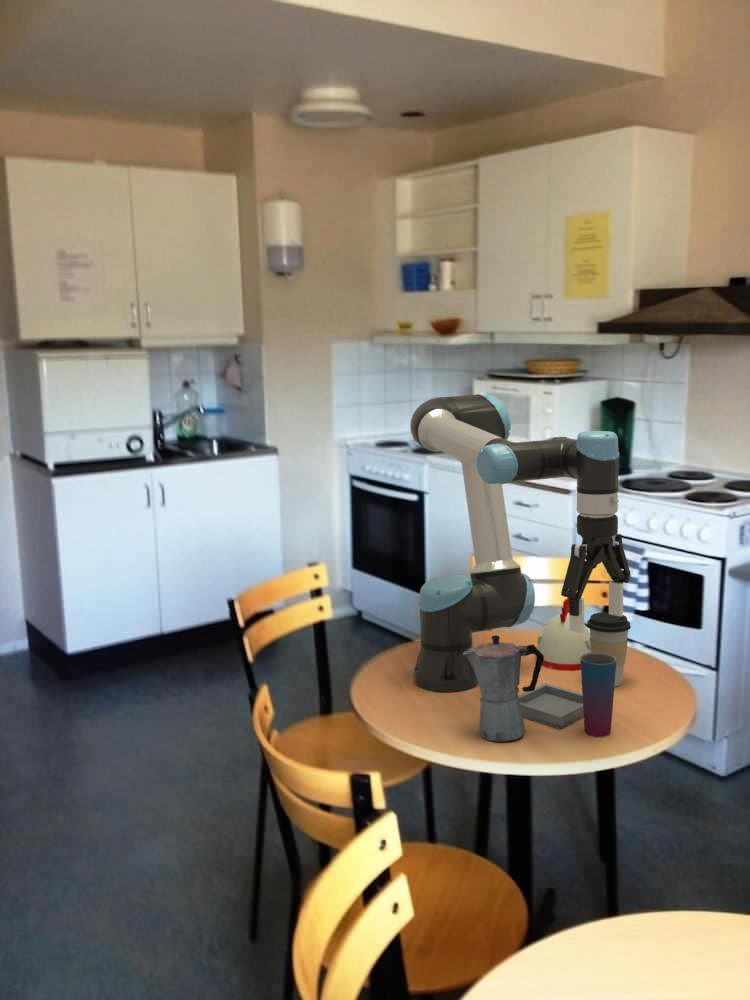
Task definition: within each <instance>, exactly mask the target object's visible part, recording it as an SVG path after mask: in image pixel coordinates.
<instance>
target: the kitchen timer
mask: <svg viewBox="0 0 750 1000" xmlns="http://www.w3.org/2000/svg"><path fill="white" fill-rule="evenodd" d="M562 604H563V605H562V606H561V612H560V613H558V614H556V615H554V616H553V617H552V618H551V619H550V620H549V621H548V622H547V623H546V625H545V626H544V627H542V629H541V630H540V633H538V638H537V645H536V648H537V650H539V651H540V653H542V654H543V656H544V661H543V663H542V666H541V667H544V668H547V669H551V670H556V671H562V672H563V671H565V672H566V671H567V672H574V671H581V661H580V657H581V656H582V655H584V654H586V653H591V644H590V629H589V628H588V627H587V625H586V624H585V623H584V633H578V632H573V631H569V598H568V597H566V598H565V599H564V600H563V602H562ZM535 656H536V655H535ZM535 658H536V659H535V661H536V660H537V656H536V657H535Z"/></svg>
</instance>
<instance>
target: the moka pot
mask: <svg viewBox="0 0 750 1000" xmlns="http://www.w3.org/2000/svg"><path fill="white" fill-rule="evenodd" d="M491 640H492V642H488V643H482V644H478V645H476V646H475V647H473V648H471V649H468V650H467V651H465V652H464V653H463V655H465V656H466V657H467V659H468V661H469V662H470V664H471V666H472V668H473V670H474V672H475V674H476V678H477V683H478V685H477V687H478V688H479V689H480V696H481V697H480V699H479V702H480V713H479V726H478V727H479V728H478V730H479V731H478V733H479V735H480V736H481V737H482V738H483V739H484V740H487V741H492V742H499V743H500V742H501V743H502V742H510V741H514V740H517V739H520V738H522V737H523V736H524V734H525V732H526V727H525V721H524V717H523V716H522V712H521V706H520V702H519V697H518V696H519V694H518V693H519V691H520V687H519V685H520V681H521V679H520V677H521V661H522V657H527V656H530V655H535V656H537V660H536V659H535V664H534V667H533V668H534V669H533V672H532V679H531V681H530V684H529V686H523V687H522V688H521V690H522V693H525V692H527V691H534V690H535V688H536V687H537V683H538V679H539V676H540V672H541V669H542V667H543V666H542V663H543V661H544V656H543V654H542V653H540V651H539V650H537V646H535V644H529V645H516V644H515V643H511V642H500V636H499V635H498V634H497V635H492V636H491Z"/></svg>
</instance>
